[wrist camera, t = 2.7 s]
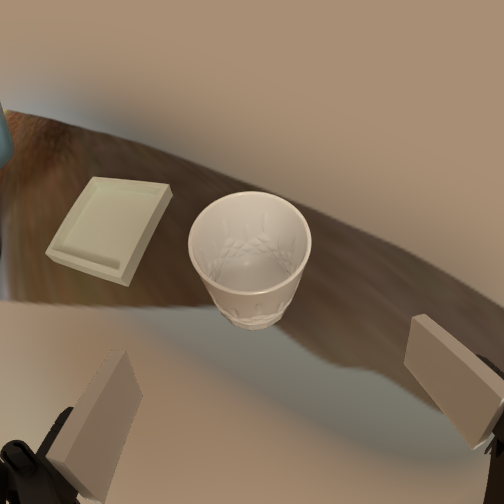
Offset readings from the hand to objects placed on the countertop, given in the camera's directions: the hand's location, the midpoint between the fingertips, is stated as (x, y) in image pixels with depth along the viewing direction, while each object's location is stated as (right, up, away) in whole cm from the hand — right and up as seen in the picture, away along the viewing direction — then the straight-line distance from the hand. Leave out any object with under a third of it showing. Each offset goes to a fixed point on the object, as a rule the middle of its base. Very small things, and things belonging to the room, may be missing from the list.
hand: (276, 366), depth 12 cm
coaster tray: (-18, +8, +20) cm, 28 cm away
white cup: (-1, +1, +15) cm, 15 cm away
